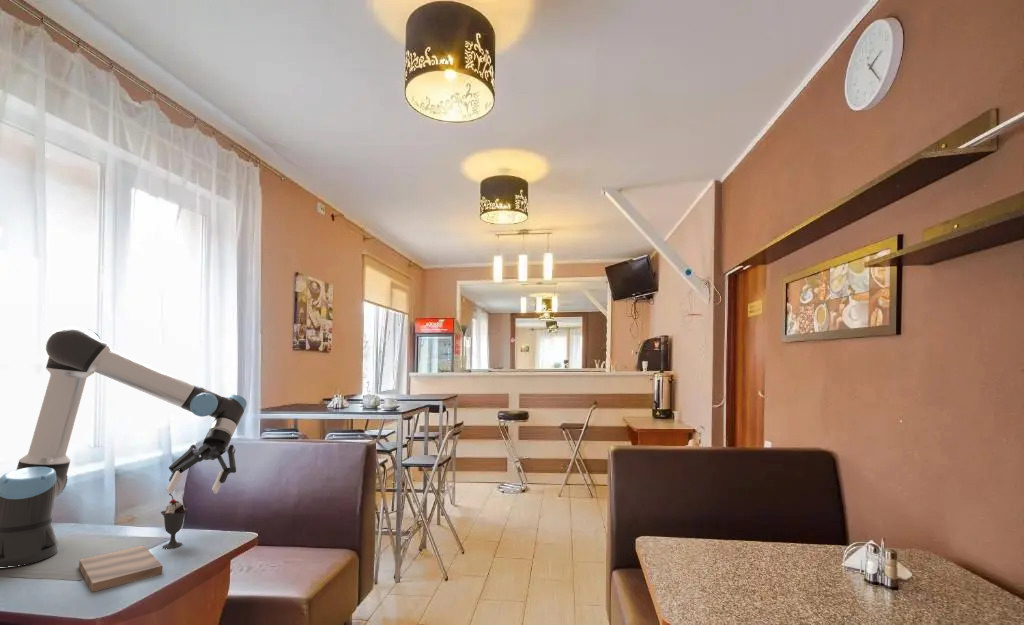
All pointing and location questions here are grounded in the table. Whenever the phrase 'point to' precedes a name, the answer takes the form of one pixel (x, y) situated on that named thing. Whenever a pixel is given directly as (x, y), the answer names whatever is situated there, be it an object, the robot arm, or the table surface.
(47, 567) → the table surface
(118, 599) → the table surface
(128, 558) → the brown flat wooden slab
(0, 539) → the robot arm
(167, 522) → the sundae
